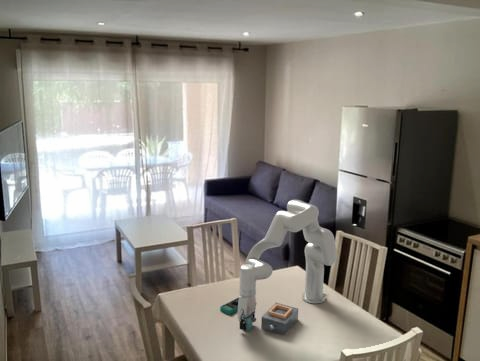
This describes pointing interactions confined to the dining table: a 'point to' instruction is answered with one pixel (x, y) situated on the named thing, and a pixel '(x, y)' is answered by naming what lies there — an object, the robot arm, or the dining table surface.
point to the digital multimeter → (230, 307)
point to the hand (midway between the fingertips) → (247, 325)
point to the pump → (249, 321)
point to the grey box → (279, 318)
